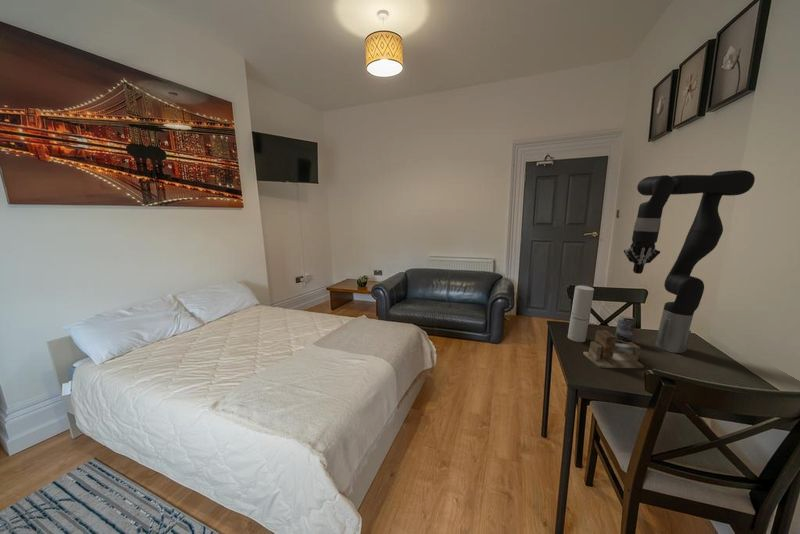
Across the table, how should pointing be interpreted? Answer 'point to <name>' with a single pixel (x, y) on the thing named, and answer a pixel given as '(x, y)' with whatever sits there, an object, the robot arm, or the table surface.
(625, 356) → the pipe rack
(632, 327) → the beverage can
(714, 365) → the table surface
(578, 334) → the cylindrical container
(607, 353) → the brown rectangular block
